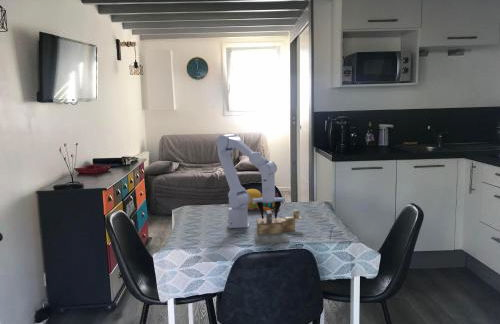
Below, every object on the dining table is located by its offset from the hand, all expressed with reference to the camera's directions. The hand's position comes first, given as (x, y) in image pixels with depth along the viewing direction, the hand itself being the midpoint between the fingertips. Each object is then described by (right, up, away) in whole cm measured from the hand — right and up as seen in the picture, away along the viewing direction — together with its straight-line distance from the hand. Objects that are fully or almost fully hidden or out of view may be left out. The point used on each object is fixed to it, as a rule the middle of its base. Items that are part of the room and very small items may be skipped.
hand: (269, 218), depth 201 cm
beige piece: (+11, -1, +1) cm, 11 cm away
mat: (+1, -7, -11) cm, 13 cm away
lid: (0, -2, 0) cm, 2 cm away
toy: (-5, 0, +43) cm, 43 cm away
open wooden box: (+3, -6, +1) cm, 7 cm away
